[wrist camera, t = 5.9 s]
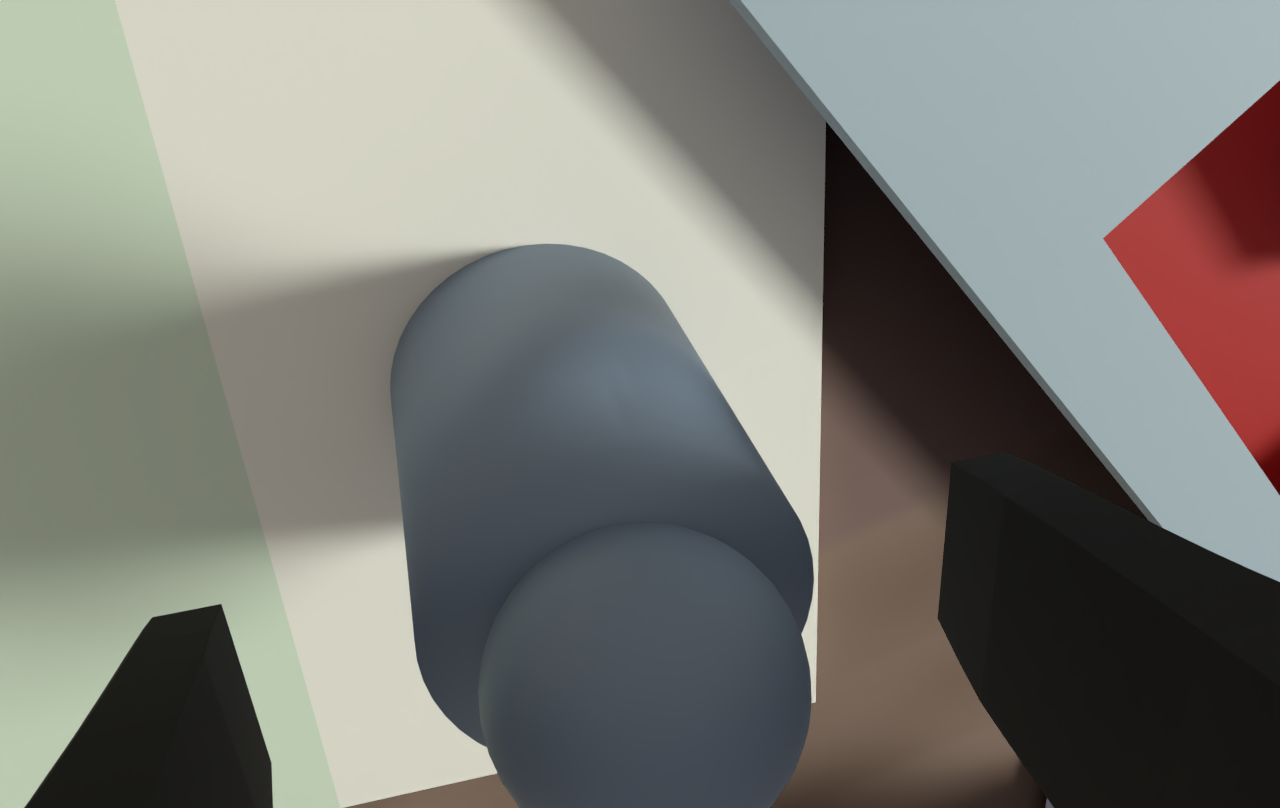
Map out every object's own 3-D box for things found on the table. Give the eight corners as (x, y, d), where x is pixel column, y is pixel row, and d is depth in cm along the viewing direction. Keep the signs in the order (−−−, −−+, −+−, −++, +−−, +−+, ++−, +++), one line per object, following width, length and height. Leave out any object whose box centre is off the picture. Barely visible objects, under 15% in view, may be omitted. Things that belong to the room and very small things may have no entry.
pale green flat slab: (816, -231, 13) (832, -230, 13) (805, 681, 20) (815, 701, 20) (-851, -96, 11) (-899, -91, 10) (-196, 901, 18) (-210, 930, 17)
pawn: (677, 222, 15) (938, 569, 9) (690, 480, 17) (909, 917, 11) (365, 269, 14) (392, 682, 8) (415, 531, 16) (473, 1029, 10)
